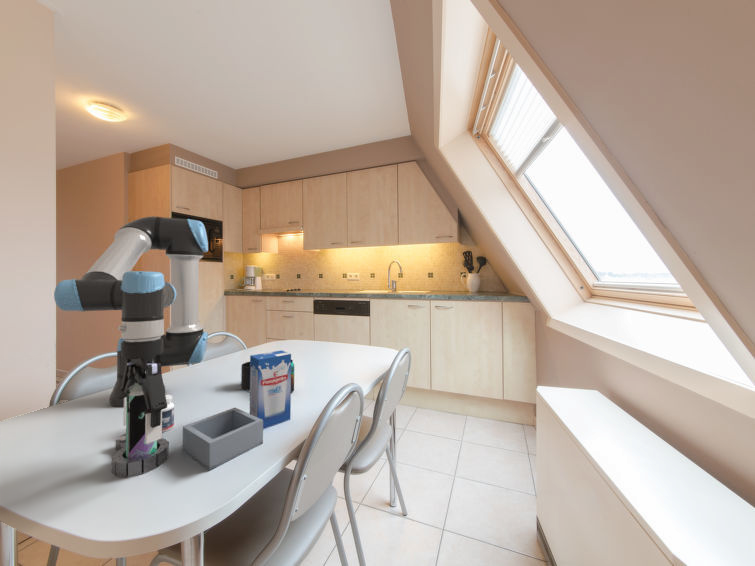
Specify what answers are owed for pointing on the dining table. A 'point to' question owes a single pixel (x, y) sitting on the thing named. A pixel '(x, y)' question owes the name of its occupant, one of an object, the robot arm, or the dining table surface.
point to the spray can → (136, 424)
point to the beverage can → (292, 376)
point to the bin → (222, 437)
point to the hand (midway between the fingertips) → (141, 431)
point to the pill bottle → (168, 415)
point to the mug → (245, 376)
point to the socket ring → (137, 459)
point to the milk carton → (270, 387)
